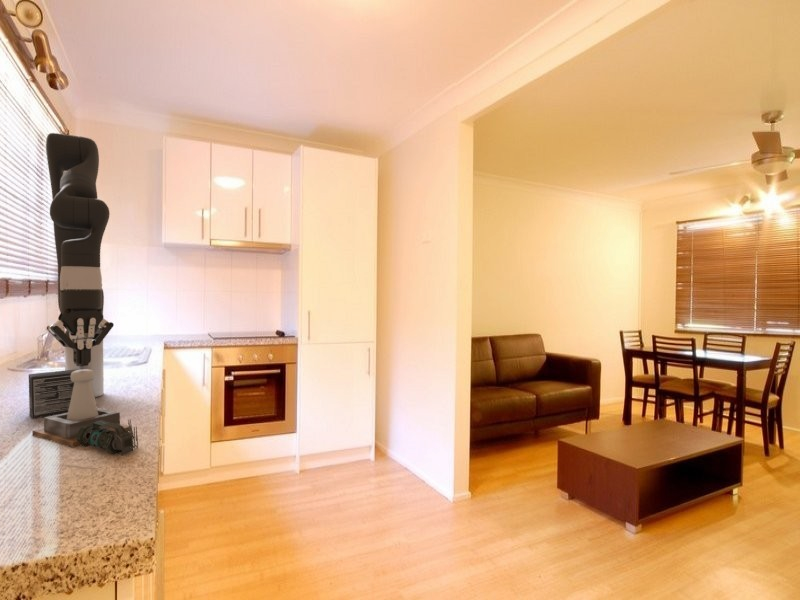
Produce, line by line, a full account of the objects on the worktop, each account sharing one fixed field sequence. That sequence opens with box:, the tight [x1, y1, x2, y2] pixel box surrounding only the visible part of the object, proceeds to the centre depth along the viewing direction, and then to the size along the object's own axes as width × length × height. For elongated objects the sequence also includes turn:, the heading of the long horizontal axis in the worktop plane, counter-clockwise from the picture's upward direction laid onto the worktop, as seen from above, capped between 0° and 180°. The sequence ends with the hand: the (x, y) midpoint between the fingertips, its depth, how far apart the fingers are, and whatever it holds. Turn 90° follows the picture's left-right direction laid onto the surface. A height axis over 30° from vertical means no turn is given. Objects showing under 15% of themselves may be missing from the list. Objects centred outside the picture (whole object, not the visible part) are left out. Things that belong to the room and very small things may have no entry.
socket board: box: [32, 407, 131, 448], centre depth 98 cm, size 16×12×4 cm
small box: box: [28, 369, 78, 420], centre depth 115 cm, size 11×6×10 cm, turn 135°
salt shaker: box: [67, 369, 99, 421], centre depth 98 cm, size 6×6×13 cm
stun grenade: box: [76, 418, 139, 456], centre depth 89 cm, size 6×6×14 cm
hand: (82, 365), depth 98 cm, fingers closed
